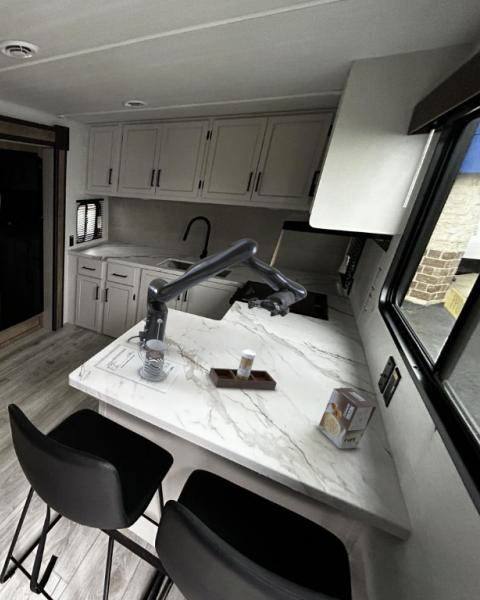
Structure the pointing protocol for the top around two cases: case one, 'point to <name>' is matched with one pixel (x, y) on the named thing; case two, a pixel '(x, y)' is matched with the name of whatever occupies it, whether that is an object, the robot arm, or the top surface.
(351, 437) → the coffee box
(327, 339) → the top surface
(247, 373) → the brown spice jar
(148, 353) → the french press
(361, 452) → the top surface
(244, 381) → the tray
